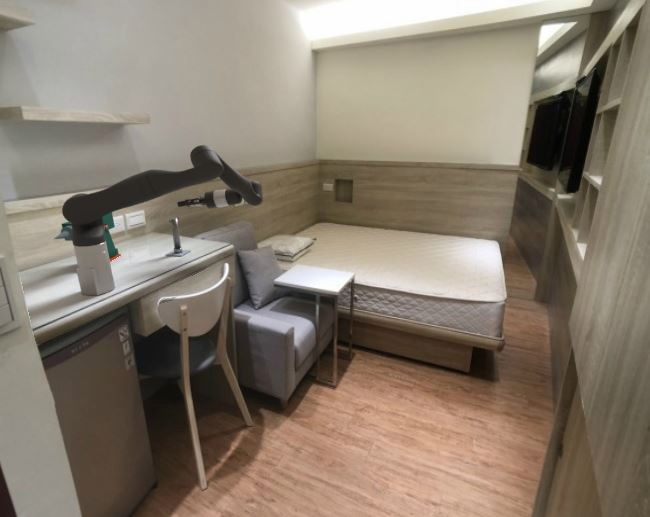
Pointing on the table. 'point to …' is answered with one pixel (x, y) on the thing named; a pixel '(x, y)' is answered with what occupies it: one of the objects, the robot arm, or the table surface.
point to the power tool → (108, 224)
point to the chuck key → (176, 235)
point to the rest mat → (177, 254)
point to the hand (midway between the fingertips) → (182, 204)
